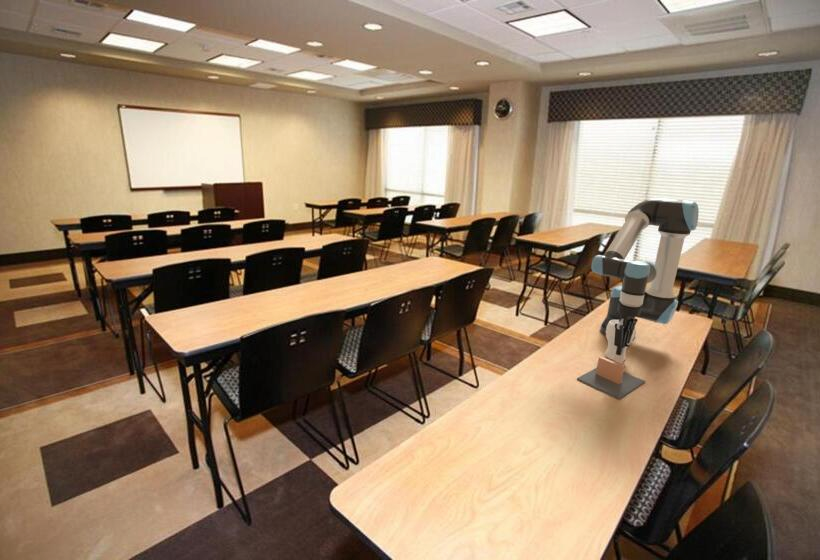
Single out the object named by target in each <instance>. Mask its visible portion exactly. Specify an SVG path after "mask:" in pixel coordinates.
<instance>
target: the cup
mask: <svg viewBox="0 0 820 560" xmlns="http://www.w3.org/2000/svg"><path fill="white" fill-rule="evenodd" d="M615 324H619V320H610V321H609V323H608V325H607V328H606V334H605V337H606V339H607V348H606V351H605V354H604V355H605V358H606V357H607V359H609V360H611V361H614V358H615V353H616V348H617V346H615V345H614V340H615ZM635 331H636V327H635V328H634V331H633V334H632V337H631V340H630V343H629V344H627V345H629V346H630V344H631V343H632V342H633V340H634V338H635V337H634V335H635V336H636V334H635ZM627 349H628V347H626V350H625V355H624V359H623V362H624V361H625V360H626V353H627V352H626V351H627Z"/></svg>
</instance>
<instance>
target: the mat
mask: <svg viewBox="0 0 820 560" xmlns="http://www.w3.org/2000/svg"><path fill="white" fill-rule="evenodd" d="M596 370H597V367H595V368H593V369H592V370H589V371H588V372H586V373H584V374H582V375H579V376H578V377H577V378H576V380H577V381H579V382H581V383H583V384H585V385H587V386H590V387H592V388H594V389H595V390H597V391H600V392H602V393H604V394H607V395H609V396H611V397H612V398H615V399H617V400H621V399H622V398H624V397H625V396H627V395H629V394H630V393H631V392H633V391H634V390H636V389H638V388H639V387H640V386H642V385H644V384H646V380H644V379H642V378H640V377H637V376H635V375H632V374H630V373H627V372H625V371H624V372H623V377H622V382H621V384H617V383H615V382H613V381H611V380H608V379H606V378H604V377H602V376H599V375H597V374H596Z"/></svg>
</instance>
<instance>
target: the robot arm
mask: <svg viewBox="0 0 820 560" xmlns="http://www.w3.org/2000/svg"><path fill="white" fill-rule="evenodd" d="M699 211H700V210H699V205H698V203H697V202H695V201H691V200H685V199H671V198H660V197H654V198H653V197H652V198H649V199H645V200H643V201H641V202H639V203H638V204H636V205H635V206H633V207H632V208H631V209H630V210H629V211H628V212H627V214H626V215H625V217H624V221H625V222H623V224H622V226H621V228H620V229H619V231H618V232H617V234H616V235H615V237H614V239H613V240H612V242H611V243H610V244H609V247H608V248H607V250H606V251H605V252H604V254H597V255H595V256H594V257H593V258H592V261H591V271H592V272H593V273H595V274H597V275H601V276H606V277H610V278H611V277H612V278H616V279H621V280H622V284H621V285H619V286H614V287H613V288H612V290H611V294H610V296H609V297H610V298H609V303H608V307H607V309H608V310H607V313H606V316H605V318H604V320H603V321H602V323H601V324H600V329H599V330H600V332H601V333H602V334H604V335H606V328H607V325H608V323H609V321H610V320H619V324H615V340H614V345H615V346H617V348H616V353H615V358H614V360H613V361H614V362H616V363H618V364H621V365H622V364H623V362H624V361H623V359H624V355H625V350H626V351H627V349H626V347H627V348H629V347H630V344H631V343H630V340H631V337H632V334H633V331H634V328H635V329H636V325H637V323H638V318H639V319H642V320H646V321H648V322H649V321H650V322H653V323H655V324H656V323H659V324H662V325H667V324H668V323H670V321H671V320H672V318H673V316H674V314H675V313H676V311H677V308H678V304H679V300H678V299H675V298H676V294H675V293H674V292H673V289H674V285H675V280H676V276H677V272H678V268H679V264H680V259H681V255H682V250H683V247H684V246H683V245H684V242H685V238H687V237H688V236H690V235H691V232H692V231H695V230H696V229H697V226H698V223H699ZM648 226H656V227H657V228H658V229H657V232H658V233H659V234H660V239H659V243H658V248H657V252H656V257H655V261H654V263H652V262H651V261H639V260H630V259H626V258H627V256H628V254H629V252H630V251H631V249H632V248H633V246H634V244H635V243H636V241H637V240H638V238H639V237H640V235H641V233H642V231H643V230H645V229H647V228H648ZM649 283H650V285H649V287H648V288H647V285H648V284H649ZM636 333H637V331H636V330H635V335H634V338H635V337H636ZM629 343H630V344H629ZM627 344H629V345H627Z"/></svg>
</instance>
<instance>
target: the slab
mask: <svg viewBox="0 0 820 560" xmlns="http://www.w3.org/2000/svg"><path fill="white" fill-rule="evenodd" d="M596 368H597V370H596V374H597V375H599V376H602V377H604V378H606V379H608V380H611V381H613V382H615V383H617V384H621V382H622V377H623V372H625V365H623V364H622V363H621V364H620V363H618V362H615V361H614V360H612V359H609V358H606V357H604V356H599V357H598V361H597V366H596Z"/></svg>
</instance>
